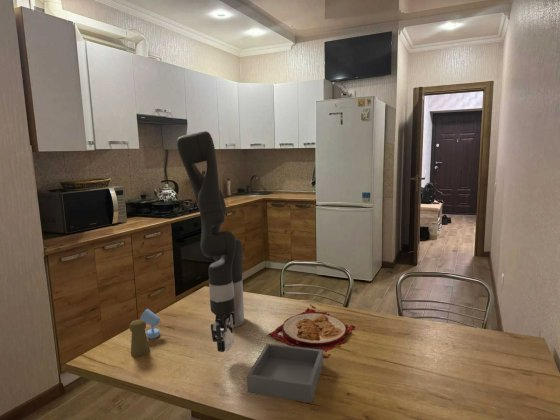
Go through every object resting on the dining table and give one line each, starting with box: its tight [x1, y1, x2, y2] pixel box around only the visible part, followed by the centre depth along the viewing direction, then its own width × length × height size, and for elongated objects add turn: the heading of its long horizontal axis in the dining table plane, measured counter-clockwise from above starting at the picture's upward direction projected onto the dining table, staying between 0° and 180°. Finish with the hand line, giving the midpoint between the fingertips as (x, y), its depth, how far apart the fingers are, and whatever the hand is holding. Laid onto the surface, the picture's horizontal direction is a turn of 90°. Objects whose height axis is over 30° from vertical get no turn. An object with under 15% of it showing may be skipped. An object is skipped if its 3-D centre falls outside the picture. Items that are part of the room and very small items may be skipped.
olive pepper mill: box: [129, 318, 151, 358], centre depth 127 cm, size 6×6×11 cm
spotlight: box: [139, 308, 161, 339], centre depth 139 cm, size 5×10×7 cm
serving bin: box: [246, 342, 324, 403], centre depth 110 cm, size 18×18×5 cm
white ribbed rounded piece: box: [215, 328, 236, 352], centre depth 120 cm, size 6×6×7 cm
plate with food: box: [267, 304, 357, 357], centre depth 138 cm, size 25×26×4 cm
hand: (225, 345), depth 120 cm, fingers closed on white ribbed rounded piece, 6 cm apart
